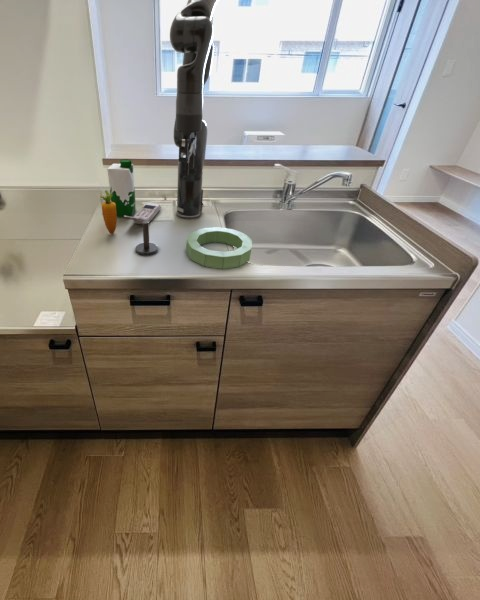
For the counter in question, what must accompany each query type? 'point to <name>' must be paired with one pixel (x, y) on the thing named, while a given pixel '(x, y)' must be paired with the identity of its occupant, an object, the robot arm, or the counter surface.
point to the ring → (216, 257)
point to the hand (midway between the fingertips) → (187, 172)
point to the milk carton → (122, 187)
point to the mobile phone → (145, 213)
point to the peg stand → (146, 243)
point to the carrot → (109, 213)
